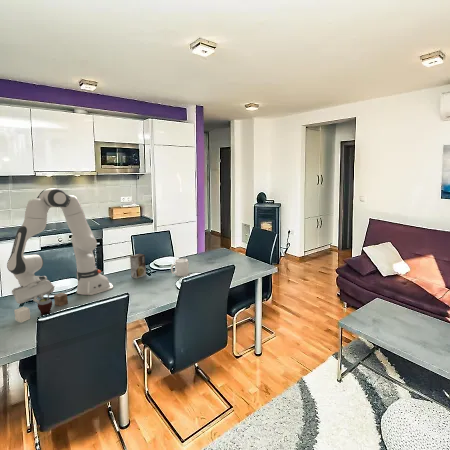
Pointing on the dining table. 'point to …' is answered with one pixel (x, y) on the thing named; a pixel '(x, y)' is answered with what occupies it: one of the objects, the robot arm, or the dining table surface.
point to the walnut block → (60, 299)
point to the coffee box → (138, 265)
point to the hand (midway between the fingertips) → (41, 303)
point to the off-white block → (22, 314)
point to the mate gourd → (45, 304)
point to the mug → (180, 267)
